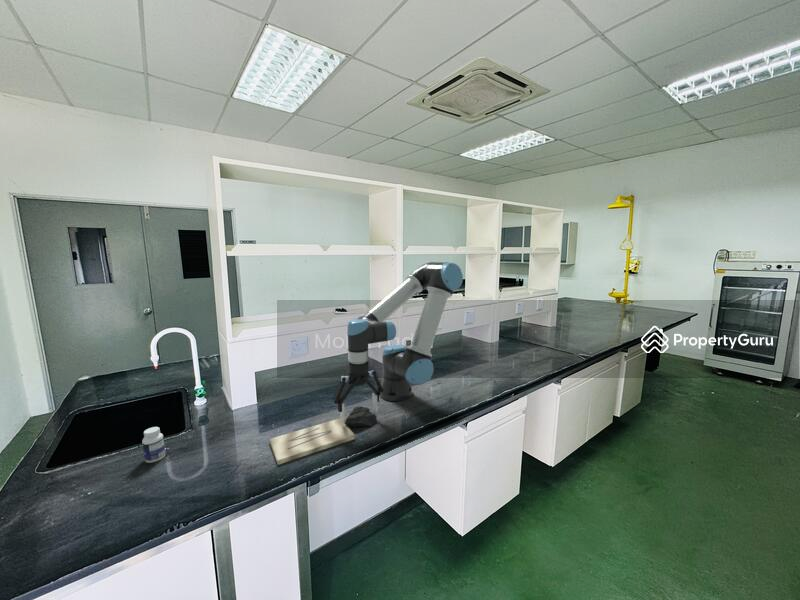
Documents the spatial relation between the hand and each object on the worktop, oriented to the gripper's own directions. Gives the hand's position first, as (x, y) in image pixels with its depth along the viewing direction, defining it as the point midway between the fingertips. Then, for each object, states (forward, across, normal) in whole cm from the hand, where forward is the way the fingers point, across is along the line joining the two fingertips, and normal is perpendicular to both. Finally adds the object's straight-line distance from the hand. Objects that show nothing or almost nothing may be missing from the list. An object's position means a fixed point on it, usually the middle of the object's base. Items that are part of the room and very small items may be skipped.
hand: (359, 414), depth 122 cm
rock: (+4, 0, 0) cm, 4 cm away
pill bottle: (+5, +64, -17) cm, 67 cm away
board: (+4, +18, +2) cm, 19 cm away
